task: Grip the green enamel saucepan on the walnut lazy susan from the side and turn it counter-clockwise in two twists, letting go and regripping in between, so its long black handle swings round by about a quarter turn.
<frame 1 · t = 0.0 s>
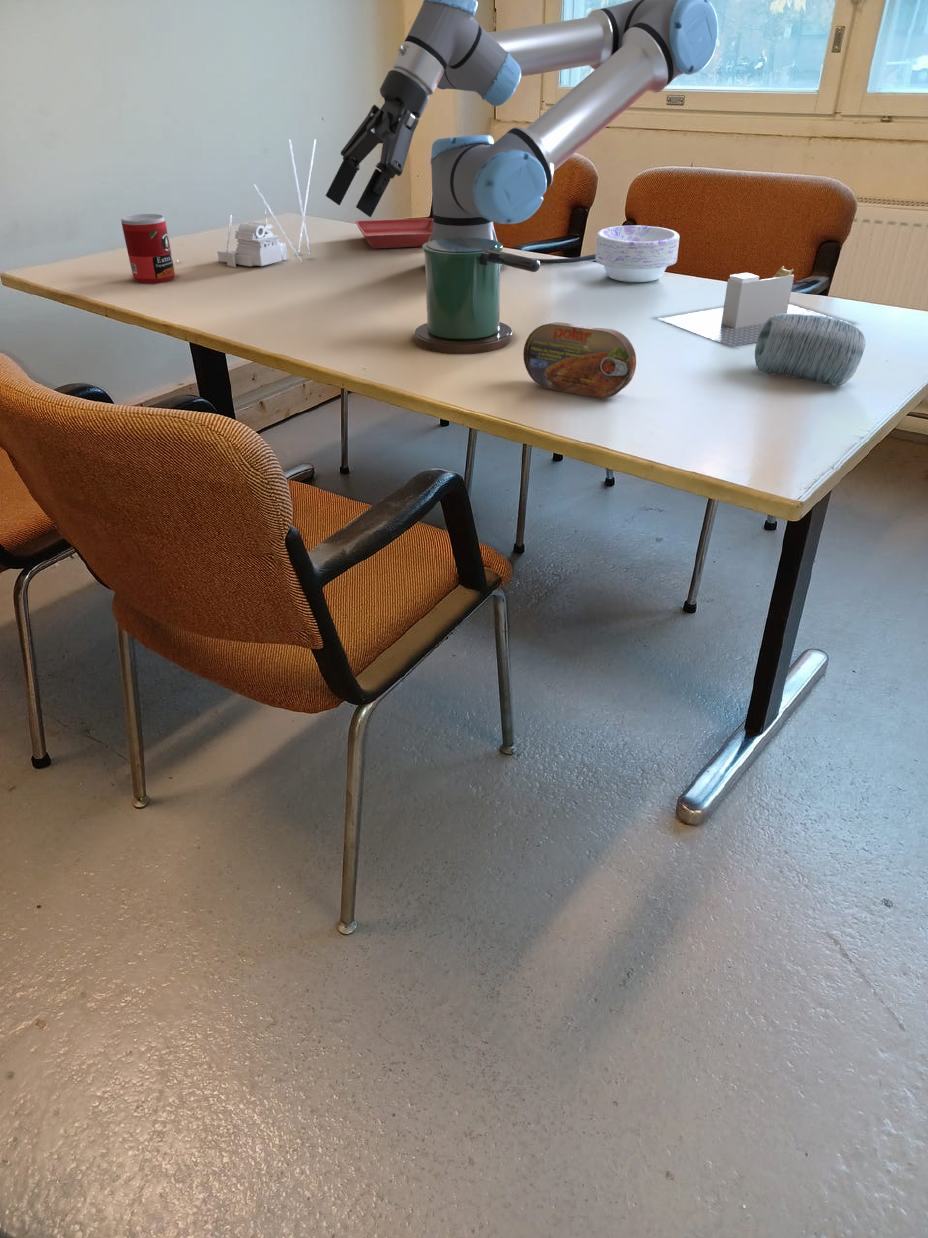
hand: (347, 206, 146), 15 cm above the table, tool tilted 35°, fingers open, 13 cm apart
model: (753, 322, 142), on the table
wifi router: (259, 259, 185), on the table
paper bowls: (634, 278, 168), on the table
canned food: (155, 279, 171), on the table
spool: (802, 379, 119), on the table
pot: (474, 290, 130), point 8 cm above the table, hinge at 0.0°
plant saucer: (400, 242, 198), on the table
turntable: (463, 338, 135), on the table
tin: (577, 391, 116), on the table
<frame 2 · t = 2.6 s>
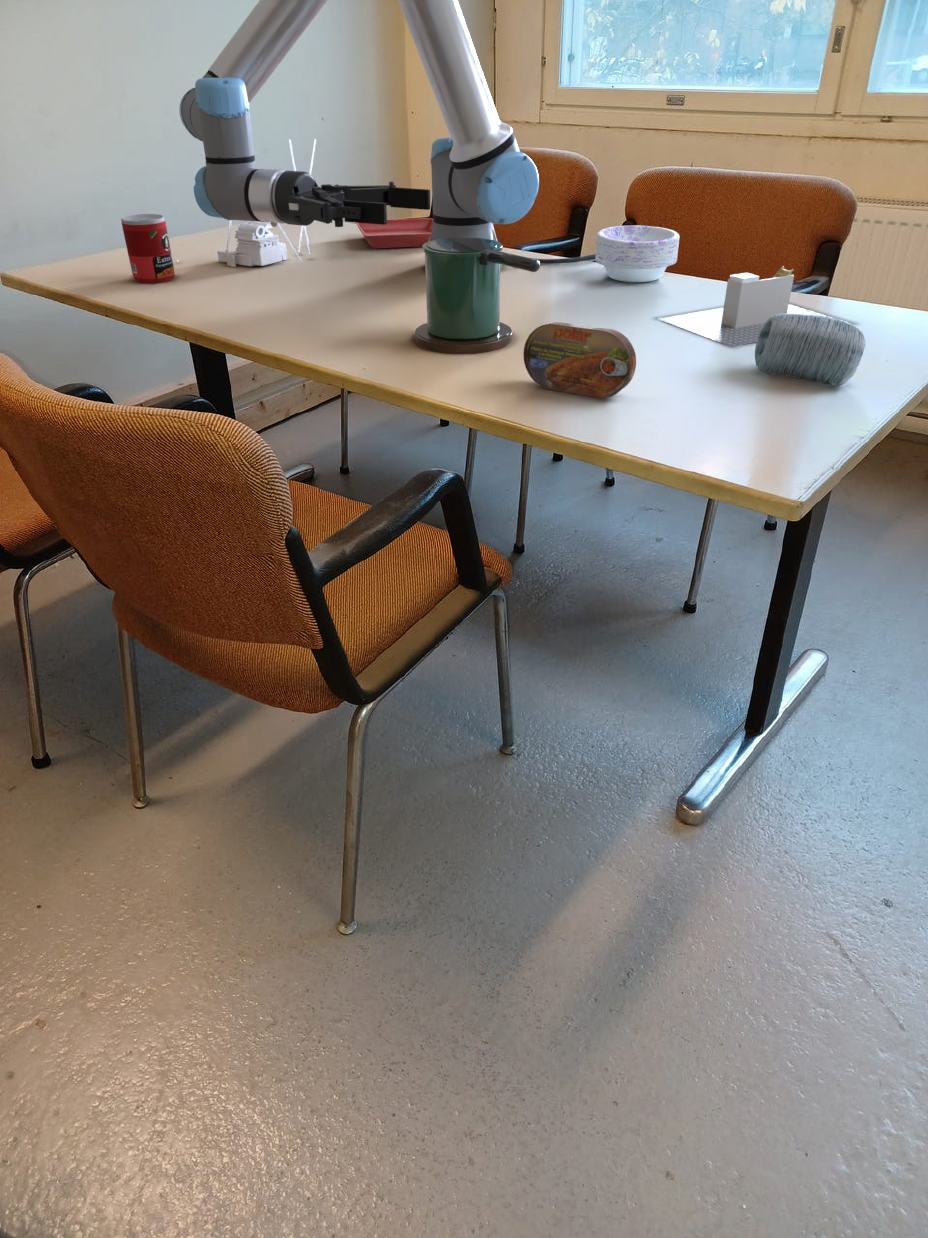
hand: (408, 206, 128), 18 cm above the table, tool horizontal, fingers open, 13 cm apart
nothing on the table moved.
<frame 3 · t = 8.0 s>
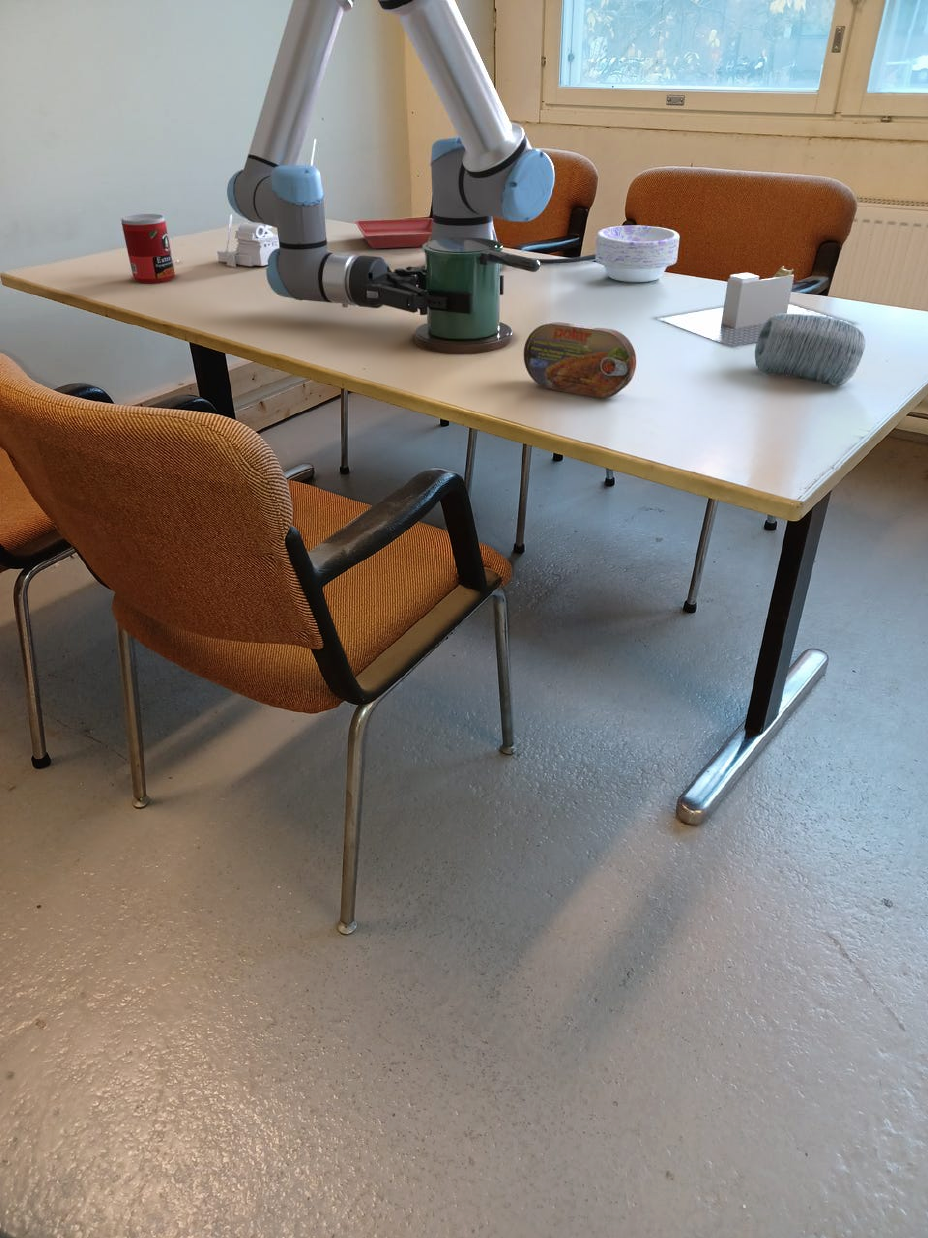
hand: (487, 294, 130), 7 cm above the table, tool horizontal, fingers closed on pot, 11 cm apart
pot: (474, 290, 130), point 8 cm above the table, hinge at -0.1°, touching gripper
everything else where it was.
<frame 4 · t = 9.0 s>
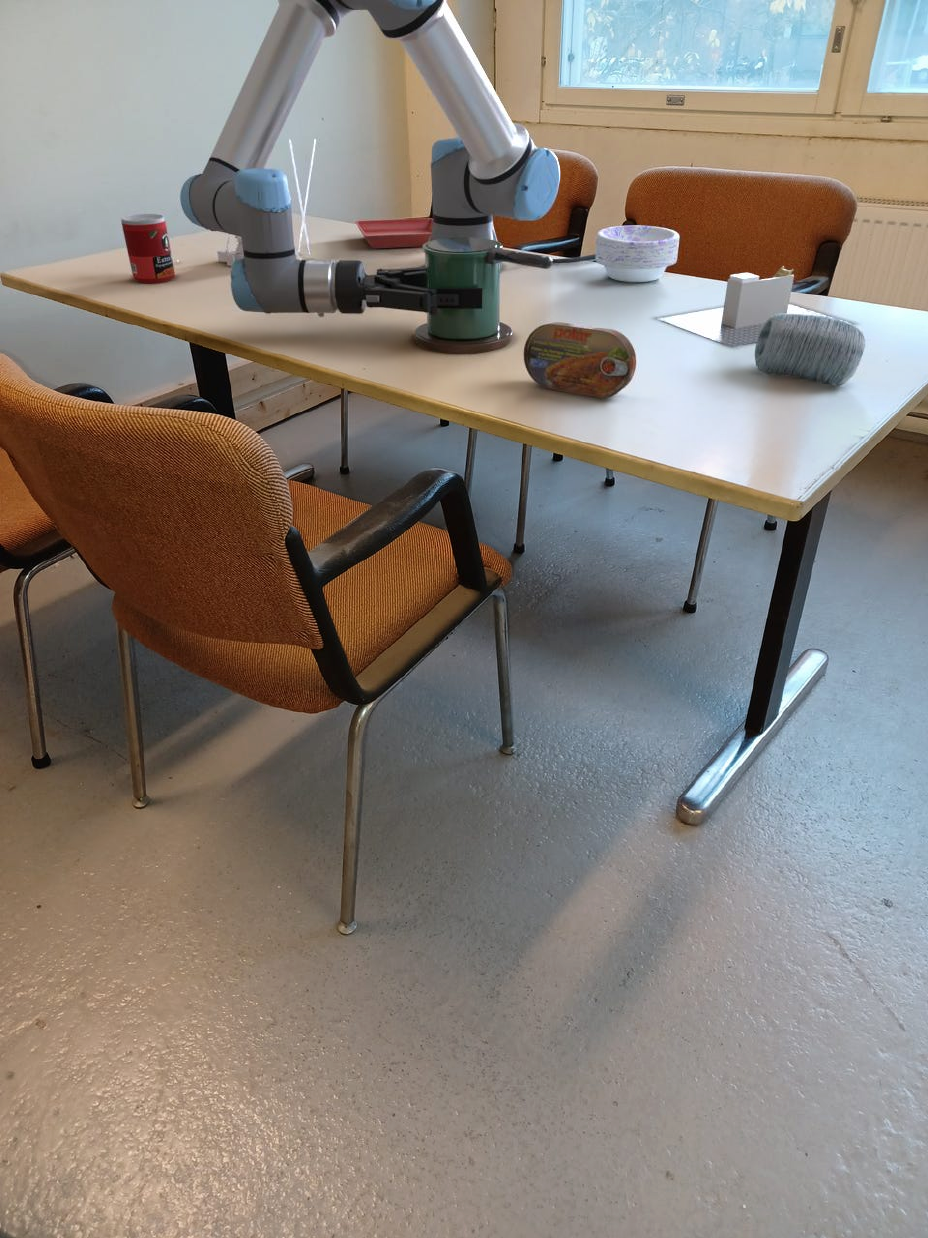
hand: (483, 288, 131), 7 cm above the table, tool horizontal, fingers closed on pot, 11 cm apart
pot: (476, 289, 130), point 8 cm above the table, hinge at 9.8°, touching gripper
everything else where it was.
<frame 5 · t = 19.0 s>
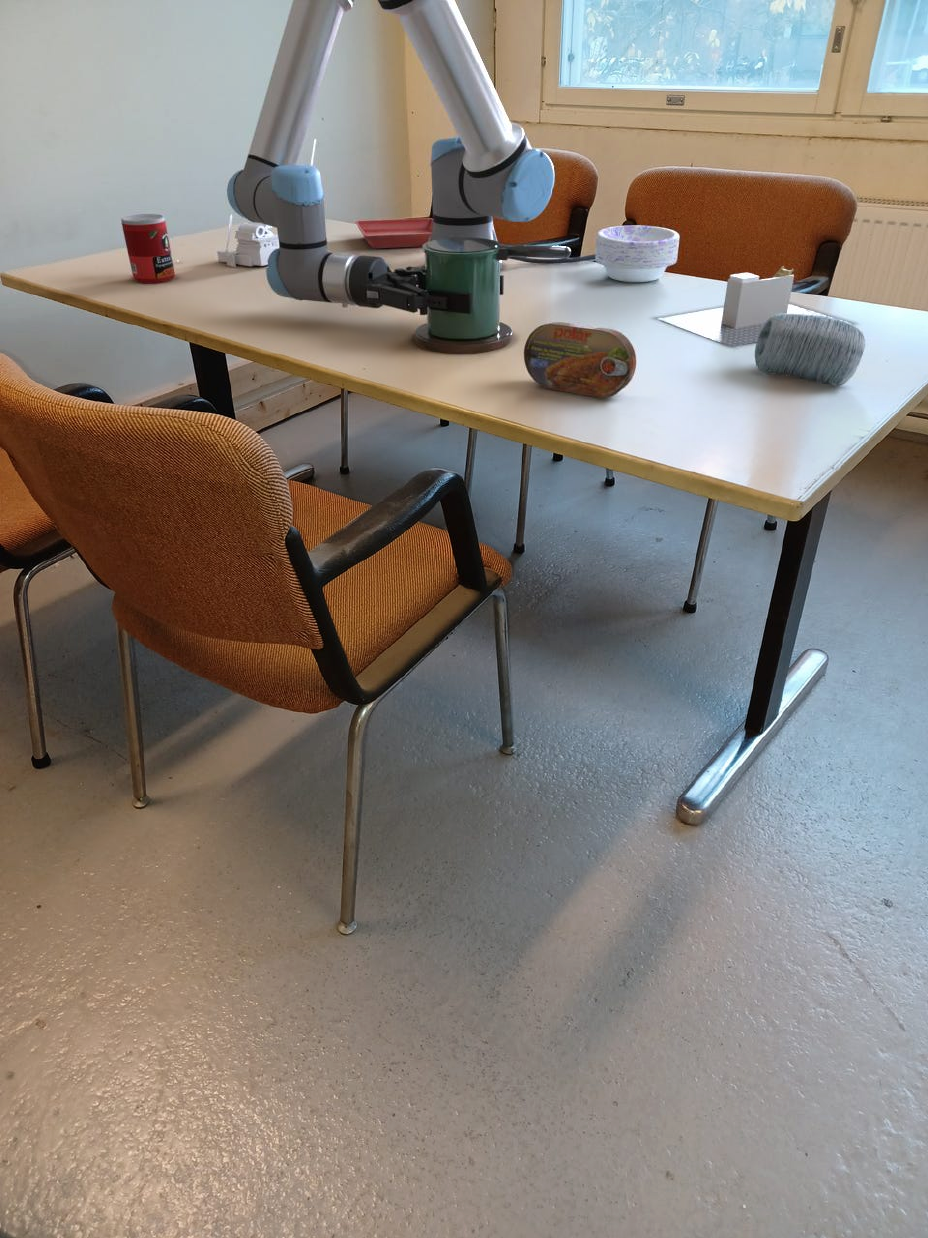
hand: (487, 294, 130), 7 cm above the table, tool horizontal, fingers closed on pot, 11 cm apart
pot: (480, 287, 131), point 8 cm above the table, hinge at 36.9°, touching gripper
everything else where it was.
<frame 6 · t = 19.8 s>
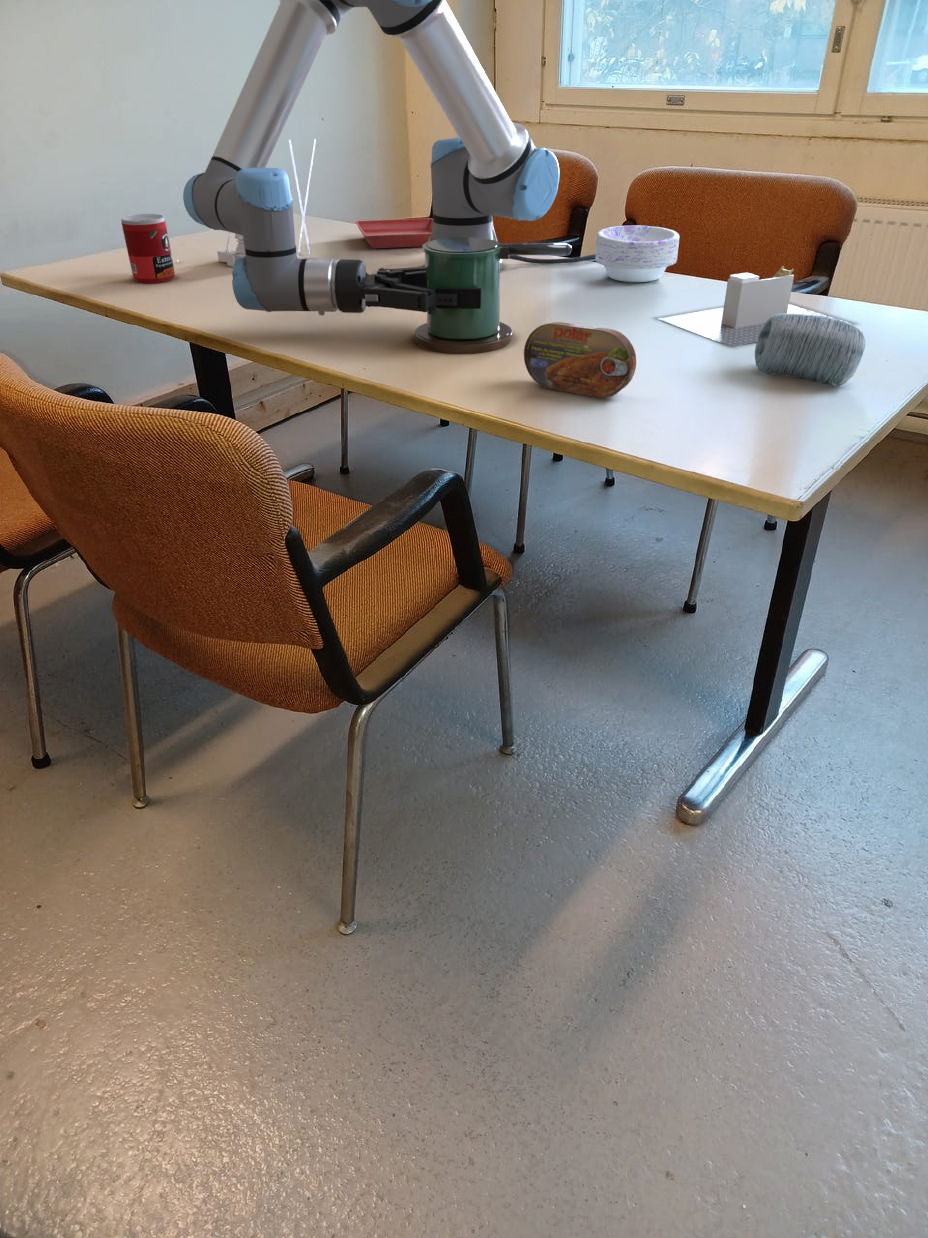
hand: (483, 288, 131), 7 cm above the table, tool horizontal, fingers closed on pot, 11 cm apart
pot: (481, 287, 131), point 8 cm above the table, hinge at 44.9°, touching gripper
everything else where it was.
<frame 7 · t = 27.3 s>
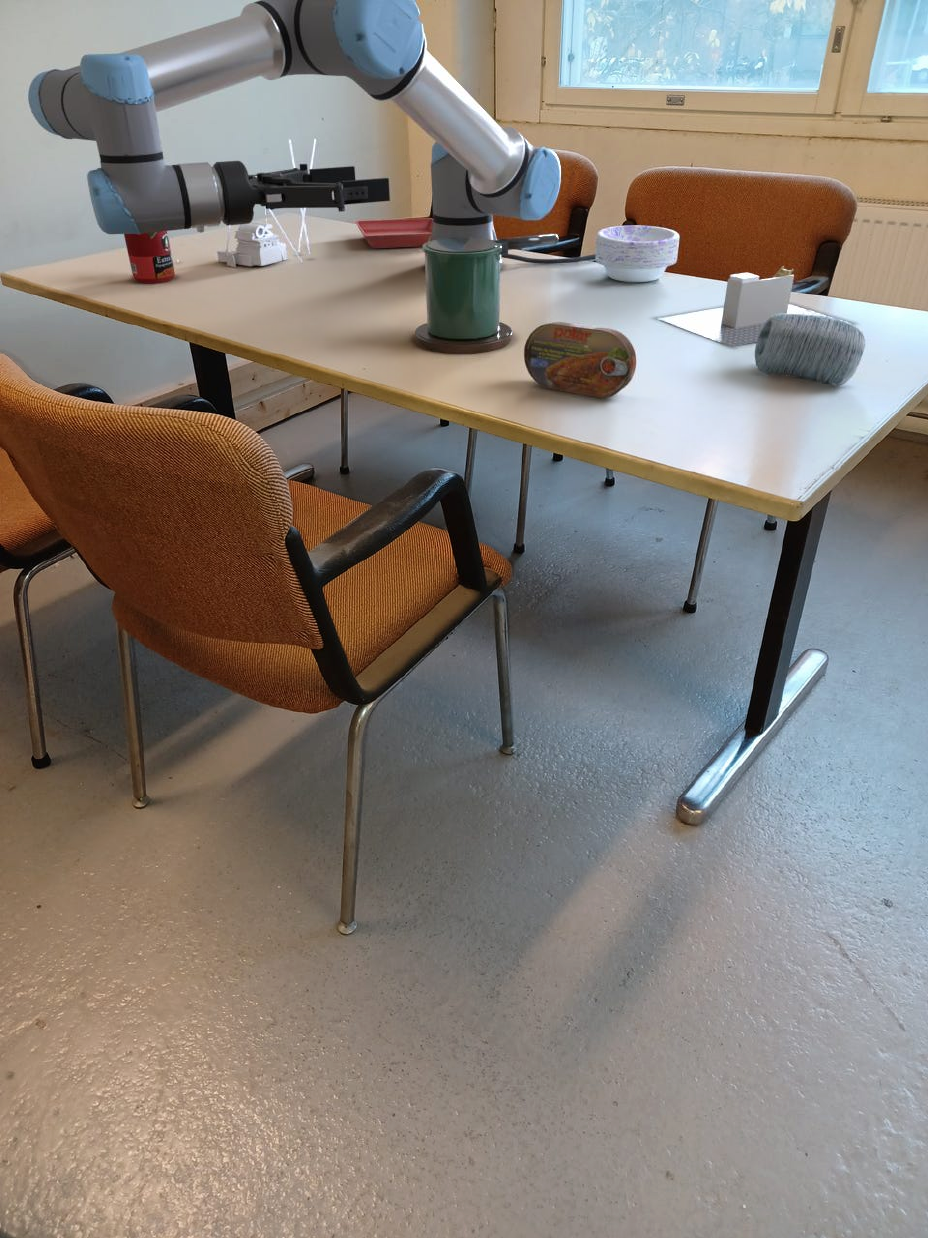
hand: (371, 182, 122), 22 cm above the table, tool horizontal, fingers open, 13 cm apart
pot: (479, 284, 132), point 8 cm above the table, hinge at 73.9°
everything else where it was.
at the end: pot at +74° (first picture: +0°); the gripper is holding nothing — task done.
